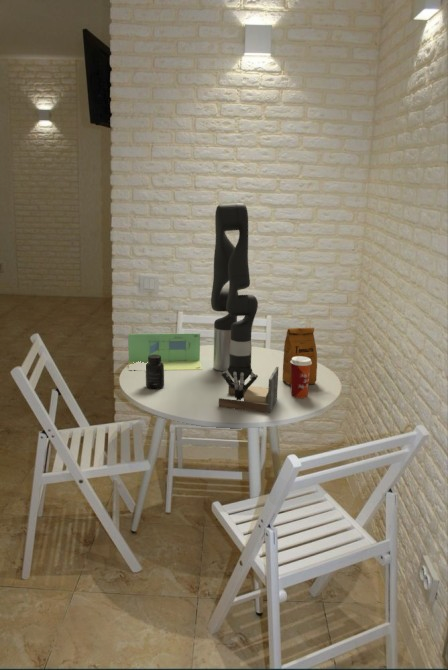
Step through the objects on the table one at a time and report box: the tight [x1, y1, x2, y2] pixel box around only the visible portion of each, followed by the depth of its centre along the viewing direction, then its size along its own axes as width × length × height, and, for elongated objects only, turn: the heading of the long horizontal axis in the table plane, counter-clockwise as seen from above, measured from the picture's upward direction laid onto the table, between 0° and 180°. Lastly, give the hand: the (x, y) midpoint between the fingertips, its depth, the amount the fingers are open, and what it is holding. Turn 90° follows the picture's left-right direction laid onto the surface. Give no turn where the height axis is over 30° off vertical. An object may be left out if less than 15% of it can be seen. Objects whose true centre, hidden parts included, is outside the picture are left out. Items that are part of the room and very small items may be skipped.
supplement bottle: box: [145, 355, 165, 391], centre depth 221 cm, size 7×7×12 cm
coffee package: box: [282, 327, 318, 386], centre depth 228 cm, size 10×12×22 cm
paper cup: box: [290, 356, 312, 399], centre depth 215 cm, size 8×8×14 cm
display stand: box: [127, 332, 203, 371], centre depth 246 cm, size 30×12×12 cm, turn 97°
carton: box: [243, 385, 269, 404], centre depth 208 cm, size 9×8×5 cm
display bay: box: [218, 366, 280, 414], centre depth 207 cm, size 14×18×12 cm
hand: (239, 399), depth 210 cm, fingers closed
